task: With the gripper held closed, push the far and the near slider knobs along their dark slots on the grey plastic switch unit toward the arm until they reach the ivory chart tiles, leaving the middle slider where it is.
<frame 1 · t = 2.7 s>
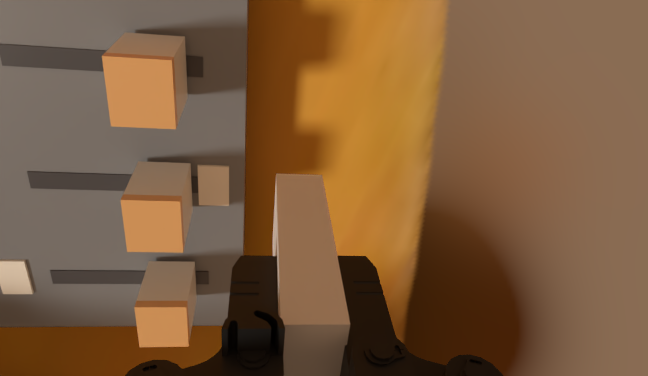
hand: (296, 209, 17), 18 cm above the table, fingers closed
switch unit: (115, 160, 35), on the table
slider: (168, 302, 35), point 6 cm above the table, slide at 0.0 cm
slider mid: (160, 205, 31), point 6 cm above the table, slide at 0.0 cm
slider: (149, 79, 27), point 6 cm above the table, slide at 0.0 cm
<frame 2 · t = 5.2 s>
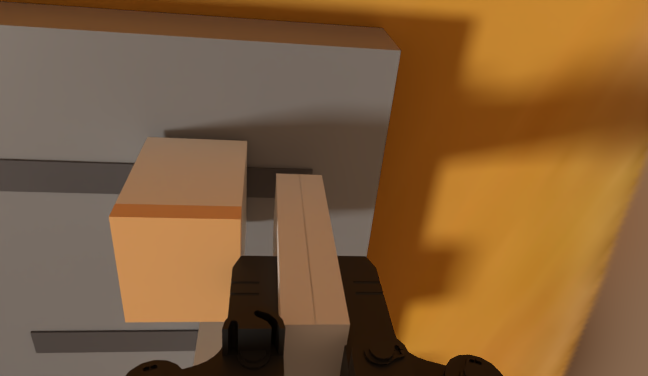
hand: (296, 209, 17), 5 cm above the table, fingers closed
switch unit: (159, 291, 24), on the table
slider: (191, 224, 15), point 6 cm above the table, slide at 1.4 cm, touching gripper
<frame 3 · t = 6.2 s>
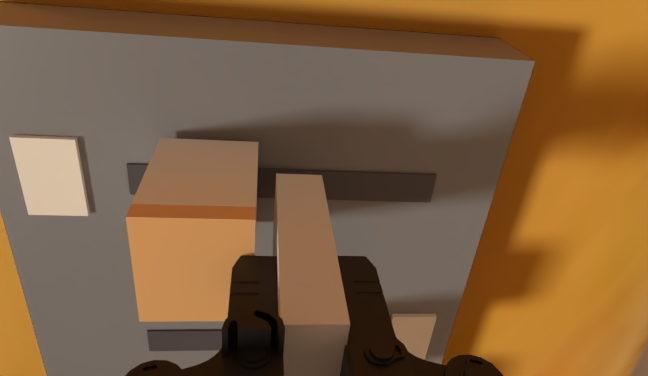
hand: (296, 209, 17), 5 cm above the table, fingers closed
switch unit: (255, 291, 25), on the table
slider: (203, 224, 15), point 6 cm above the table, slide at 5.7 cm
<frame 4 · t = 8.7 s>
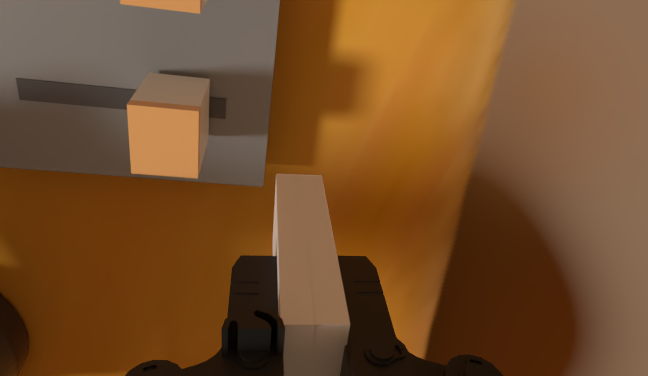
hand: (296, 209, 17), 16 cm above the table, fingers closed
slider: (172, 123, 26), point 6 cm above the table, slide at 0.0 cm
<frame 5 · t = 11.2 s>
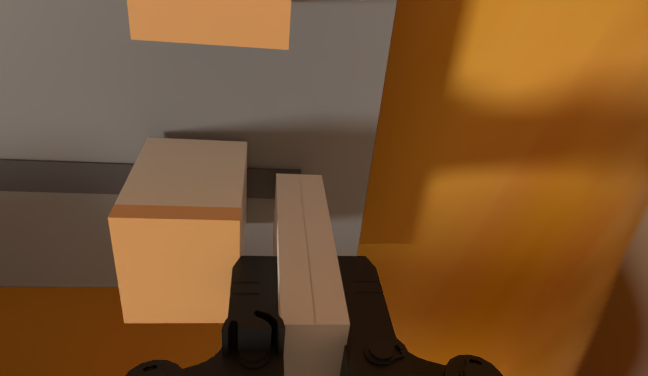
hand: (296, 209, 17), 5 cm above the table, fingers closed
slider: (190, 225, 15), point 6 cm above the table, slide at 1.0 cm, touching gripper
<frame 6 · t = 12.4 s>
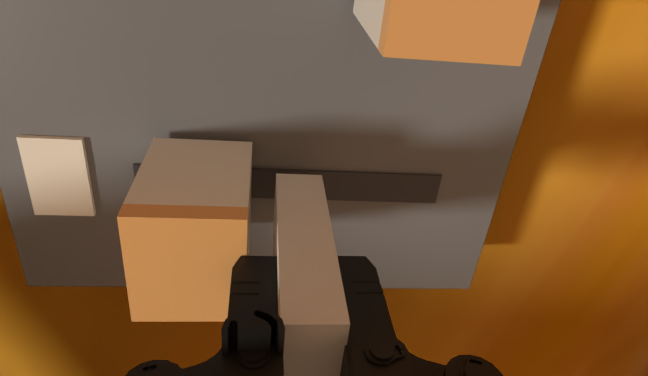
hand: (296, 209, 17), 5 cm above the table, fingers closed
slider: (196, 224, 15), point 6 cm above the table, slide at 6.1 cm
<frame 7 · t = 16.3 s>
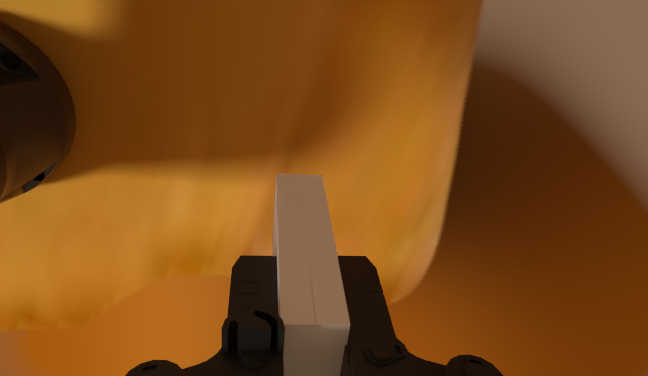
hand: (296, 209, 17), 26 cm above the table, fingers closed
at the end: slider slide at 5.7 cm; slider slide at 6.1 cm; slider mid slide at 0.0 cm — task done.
